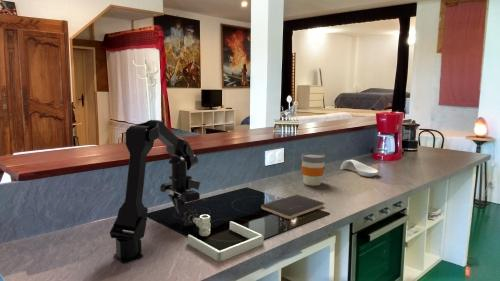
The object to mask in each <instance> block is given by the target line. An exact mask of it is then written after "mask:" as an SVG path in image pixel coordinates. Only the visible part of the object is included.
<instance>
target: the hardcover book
mask: <svg viewBox="0 0 500 281" xmlns="http://www.w3.org/2000/svg"><path fill="white" fill-rule="evenodd" d="M325 203H326V202H323V201H319V200H316V199H313V198H310V197H307V196H303V195H301V194H298V193H297V194H294V195H290V196H288V197H285V198H281V199H277V200H274V201H270V202H267V203H264V204H261V205H260V210H264V211H266V212H269V213H272V214H275V215H276V216H279V217H282V218H285V219H287V220H291V219H293V218H296V217H299V216H301V215H304V214H307V213H309V212H313V211H315V210H318V209H321V208H323V207H324V205H325Z"/></svg>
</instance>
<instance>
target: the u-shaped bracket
mask: <svg viewBox="0 0 500 281" xmlns="http://www.w3.org/2000/svg"><path fill="white" fill-rule="evenodd" d="M229 230H230V231H232V232H234V233H237V234H239V235H241V236H242V237H245V238H246V239H247V240H245V241H242V242H240V243H237V244H235V245H232V246H231V245H230V246H229V247H226V248H224V249H221V250H219V249H217V248H216V247H214V246H212V245H209V244H208V243H206V242H204V241H202V240H201V239H198V238H197V237H195V236H193V234H192V235H191V234H188V235H187V245H189V246H191V247H192V248H194V249H196V250H197V251H198V252H201V253H203V254H204V255H206V256H208V257H210V258H211V259H213V260H215V261H216V262H218V263H221V262H223V261H225V260H228V259H230V258H232V257H234V256H237V255H240V254H242V253H245V252H247V251H249V250H252V249H255V248H257V247H259V246H262V245H264V241H265V240H264V238H265V236H264V235H263V234H262V233H259V232H257V231H255V230H252V229H250V228H248V227H246V226H243V225H241V224H239V223H237V222H234V221H233V220H232V221H231V220H230V221H229Z"/></svg>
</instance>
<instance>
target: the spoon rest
mask: <svg viewBox="0 0 500 281" xmlns="http://www.w3.org/2000/svg"><path fill="white" fill-rule="evenodd" d="M348 163H352V164H353V166H354V168H355V169H356V170H355V171H356V172H357V173H358V174H359V175H360V176H362V177H364V178H365V177H366V178H371V177H374V176H376V175H377V174H379V170H378V169H376V168H373V167H371V166H369V165H366V164H364V163H362V162H360V161H358V160H356V159H347V160H344V161H343V162H342V163H341V165H340V170H346V169H347V166H348Z"/></svg>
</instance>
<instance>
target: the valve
mask: <svg viewBox="0 0 500 281" xmlns="http://www.w3.org/2000/svg"><path fill="white" fill-rule="evenodd" d="M197 213H198V210H196V209H191V208H188V211H184V212H183V215H184V217H182V219H181V220H182V221H183V222H184V224H183V225H184V226H189V227H193V225H194V224H195V225H196V227H198V229H199V230H198V234H199V236H201V237H208V236H210V234H211V226H212V225H211V216H210V215H209V214H201V215H199V214H197Z"/></svg>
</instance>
